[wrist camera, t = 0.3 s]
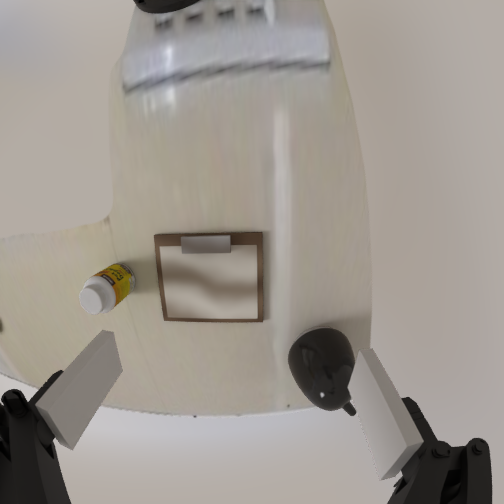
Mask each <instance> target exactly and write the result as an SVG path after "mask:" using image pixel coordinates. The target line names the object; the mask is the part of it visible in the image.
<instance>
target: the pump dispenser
mask: <svg viewBox="0 0 504 504" xmlns="http://www.w3.org/2000/svg"><path fill="white" fill-rule="evenodd" d="M288 364H289V368H290V371H291V373H292V375H293V378H294V380H295V381H296V383H297V385H298V386H299V388H300V389H301V391H302V392H303V393H304V395H305V396H306V397H307V398H308V399H309V400H310V401H311V402H312V403H313V404H314V405H316V406H317V407H319V408H321V409H324V410H328V411H333V410H338V409H340V408H343V409H344V410H345V411H346V412H347V413H348V414H349V415H350V416H354V415H355V414H356V410H355V408H354V407H353V405H352V404H351V403H350V400H351V395H350V392H349V390H348V385H349V382H350V379H351V376H352V373H353V369H354V366H355V358H354V354H353V350H352V347H351V344H350V342H349V340H348V339H347V337H346V336H345V335H344V334H343V333H342V332H340V331H338V330H335V329H333V328H330V327H325V326H318V327H313V328H310V329H308V330H306V331H304V332H303V333H301V334H300V335H299V336H298V337H297V338H296V340H295V341H294V343H293V345H292V347H291V349H290V351H289V354H288Z"/></svg>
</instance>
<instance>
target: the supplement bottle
mask: <svg viewBox="0 0 504 504" xmlns="http://www.w3.org/2000/svg"><path fill="white" fill-rule="evenodd" d="M134 286H135V278H134V275H133V273H132V271H131V270H130V269H129V268H128V267H127V266H126V265H124V264H121V263H116V264H113V265H111V266H109V267H107V268H106V269H104V270H102V271H100V272H99V273H97V274H95V275H94V276H92V277H90V278H89V279H88V280H87V281H86V282H85V284H84V288H83V289H82V290H81V292H80V295H79V299H80V303H81V305H82V307H83V308H84V310H85V311H86V312H88V313H89V314H92V315H96V314H99V313H107V312H109V311H111V310H112V309H113V308H114V307H115V306H116V305H117V304H119V303H120V302H121V301H122V300H123V299H124V298H125V297H126V296H127V295H129V294H130V293H131V292H132V290H133V289H134Z"/></svg>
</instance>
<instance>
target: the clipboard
mask: <svg viewBox="0 0 504 504" xmlns="http://www.w3.org/2000/svg"><path fill="white" fill-rule="evenodd" d="M154 241H155V252H156V263H157V272H158V280H159V288H160V296H161V303H162V310H163V317H164V321H185V322H263V251H262V232H244V233H196V234H162V235H154Z"/></svg>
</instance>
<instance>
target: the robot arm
mask: <svg viewBox="0 0 504 504" xmlns="http://www.w3.org/2000/svg"><path fill="white" fill-rule="evenodd" d="M197 1H198V0H134V2H135V4H136V5H137V6H138V8H139V9H141V10H142V11H145V12H148V13H166V12H172V11H176V10H179V9H182V8H185V7H187V6H189V5H191V4H193V3H195V2H197ZM122 371H123V369H122V366H121V362H120V358H119V354H118V350H117V345H116V341H115V336H114V332H110V331H105V330H102V331H101V332H100V333H99V334H98V335H97V336H96V337H95V338H94V339H93V340H92V341H91V342H90V343H89V345H88V346H87V347H86V348H85V349H84V350H83V351H82V352H81V353H80V354H79V355H78V356H77V357H76V359H75V360H74V361H73V362H72V363H71V364H70V365H69V366H68V367H67V369H66V370H65V371H62V370H60V371H58V372H56V373H54V374H53V375H52V376H51V377H50V378H49V379H48V380H47V382H45V383H44V385H43V387H41V388H40V389H39V390H38V391H37V392H36V394H35V395H34V396H33V397H32V398H31V399H30V401H29V402H27V400H26V398H25V396H24V394H23V393H22V392H21V391H19V390H17V389H11V390H8V391H7V392H5V393H4V394H3V396H2V398H1V401H2V402H3V404H4V405H2V404H1V403H0V504H71V502H70V499H69V496H68V493H67V490H66V487H65V483H64V480H63V477H62V473H61V470H60V466H59V462H58V458H57V453H56V449H55V445H54V443H53V439H54V438H56V439H57V440H58V442H59V443H60V444H61V445H63V446H65V447H67V448H69V449H71V450H73V449H74V447H75V445H76V444H77V442H78V440H79V439H80V437H81V435H82V434H83V432H84V431H85V429H86V427H87V426H88V424H89V422H90V421H91V419H92V417H93V416H94V414H95V413H96V411H97V409H98V408H99V406H100V405H101V403H102V402H103V400H104V399H105V397H106V395H107V394H108V392H109V391H110V389H111V388H112V386H113V385H114V383H115V382H116V380H117V379H118V377H119V376H120V374H121V373H122ZM348 390H349V392H350V395H351V398H352V400H353V403H354V406H355V409H356V412H357V414H358V417H359V420H360V423H361V425H362V428H363V431H364V434H365V437H366V440H367V443H368V446H369V449H370V452H371V455H372V458H373V461H374V464H375V467H376V471H377V474H378V477H379V480H384V479H388V478H392V477H395V476H396V475H397V474H398V473H399V472H400V470H401V471H402V474H403V476H402V477H401V479H399V480H398V482H397V483H396V484H395V485H394V487H396V486H397V487H396V489H395V490H394V492H393V494H392V496H391V498H390V500H389V501H388V503H387V504H492V473H491V460H490V451H489V446H488V444H487V442H486V441H485V440H483V439H481V438H473V439H472V440H470V441H469V442H468V444H467V445H466V446H459V447H451V446H450V445H449V444H448V443H446V442H444V441H438V440H437V438H436V437H435V435H434V433H433V431H432V429H431V427H430V426H429V424H428V422H427V421H426V419H425V418H424V415H423V414H422V412H421V410H420V408H419V407H418V405H417V403H416V402H415V401H413V400H412V399H411V398H410V397H406V398H401V397H400V396H399V394H398V392H397V390H396V388H395V387H394V385H393V383H392V381H391V380H390V378H389V376H388V374H387V373H386V371H385V369H384V368H383V366H382V364H381V362H380V361H379V359H378V357H377V356H376V354H375V352H374V350H373V349H359V353H358V356H357V360H356V363H355V366H354V369H353V373H352V376H351V379H350V382H349V385H348Z"/></svg>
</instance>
